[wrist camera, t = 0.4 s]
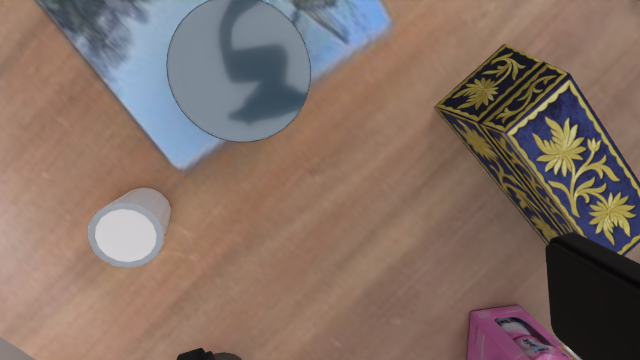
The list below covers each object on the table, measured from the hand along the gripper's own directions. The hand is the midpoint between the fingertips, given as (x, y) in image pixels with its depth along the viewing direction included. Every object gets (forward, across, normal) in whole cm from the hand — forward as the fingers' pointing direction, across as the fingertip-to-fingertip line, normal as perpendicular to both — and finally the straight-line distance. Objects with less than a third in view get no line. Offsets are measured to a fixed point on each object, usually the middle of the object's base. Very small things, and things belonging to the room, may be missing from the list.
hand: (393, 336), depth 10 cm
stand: (+35, +3, -8) cm, 36 cm away
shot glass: (+36, +18, +4) cm, 40 cm away
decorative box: (+36, -30, +12) cm, 48 cm away
